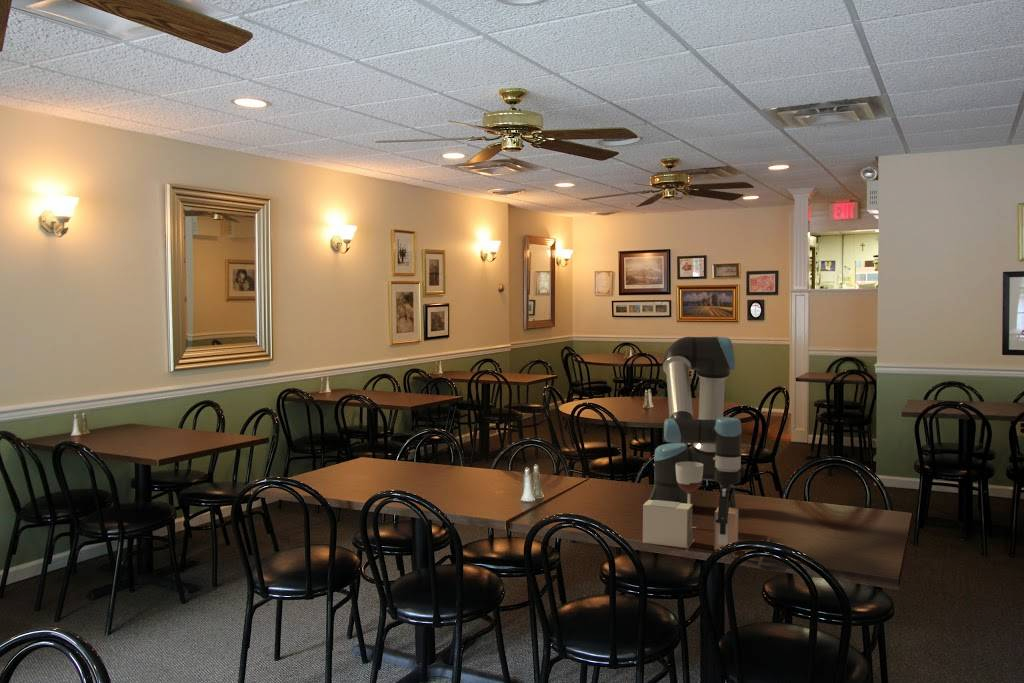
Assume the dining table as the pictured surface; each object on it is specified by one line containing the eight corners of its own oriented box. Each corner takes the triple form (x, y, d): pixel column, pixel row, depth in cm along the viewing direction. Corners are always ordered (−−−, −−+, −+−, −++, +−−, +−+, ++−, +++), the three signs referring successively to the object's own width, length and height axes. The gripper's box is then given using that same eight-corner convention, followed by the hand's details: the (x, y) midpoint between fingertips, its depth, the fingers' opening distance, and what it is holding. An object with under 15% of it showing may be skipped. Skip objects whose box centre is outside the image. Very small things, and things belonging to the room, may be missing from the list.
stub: (717, 544, 249) (718, 506, 248) (737, 547, 246) (738, 508, 246) (714, 551, 242) (714, 511, 242) (734, 553, 240) (735, 514, 239)
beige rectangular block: (647, 536, 257) (648, 499, 257) (691, 541, 252) (692, 503, 251) (642, 542, 251) (643, 504, 250) (687, 548, 245) (688, 509, 245)
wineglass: (669, 529, 267) (670, 464, 266) (685, 524, 274) (686, 460, 273) (691, 535, 261) (692, 468, 260) (707, 529, 268) (708, 464, 267)
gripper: (721, 460, 256) (720, 526, 257) (708, 476, 233) (706, 548, 234) (745, 462, 253) (744, 528, 254) (734, 478, 230) (733, 551, 231)
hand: (726, 538), depth 244 cm, fingers open, 13 cm apart
